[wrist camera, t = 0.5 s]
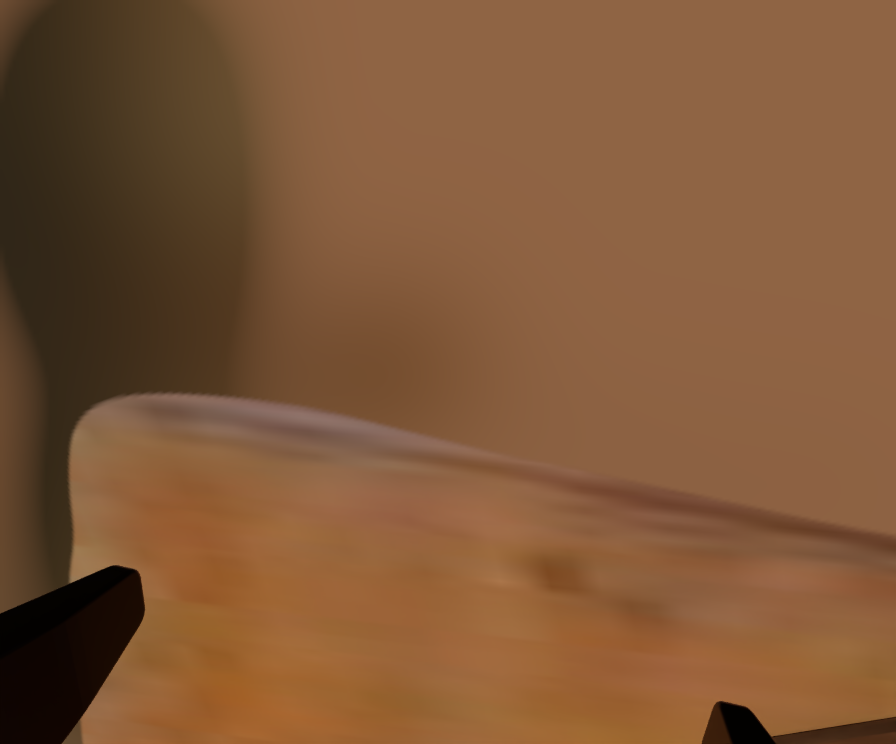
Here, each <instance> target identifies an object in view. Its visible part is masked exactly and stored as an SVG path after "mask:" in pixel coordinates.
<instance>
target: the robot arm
mask: <svg viewBox="0 0 896 744" xmlns="http://www.w3.org/2000/svg"><path fill="white" fill-rule="evenodd" d="M144 613H145V604H144V597H143V590H142V583H141V577H140V574H139V572H138V571H137V570H135V569H132V568H127V567H123V566H118V565H113V566H110V567H107V568H105V569H102V570H100V571H98V572H95V573H93V574H91V575H88V576H86V577H84V578H81V579H79V580H77V581H74V582H72V583H70V584H67V585H65V586H63V587H61V588H58V589H56V590H54V591H51V592H49V593H47V594H45V595H42V596H40V597H37V598H35V599H33V600H30V601H28V602H26V603H24V604H21V605H19V606H17V607H14V608H12V609H10V610H7V611H5V612H3V613H1V614H0V744H62V743H63V741H64V740H65V739H66V737H67V736H68V735H69V733H70V732H71V731H72V729H73V728H74V727H75V725H76V724H77V723H78V721H79V720H80V718H81V717H82V716H83V714H84V713H85V711H86V710H87V708H88V707H89V705H90V704H91V702H92V701H93V699H94V698H95V696H96V695H97V693H98V691H99V690H100V688H101V687H102V685H103V683H104V682H105V680H106V679H107V677H108V675H109V674H110V672H111V671H112V669H113V667H114V666H115V664H116V663H117V661H118V659H119V658H120V656H121V655H122V653H123V651H124V650H125V648H126V647H127V645H128V643H129V642H130V640H131V639H132V637H133V635H134V634H135V632H136V631H137V629H138V627H139V626H140V624H141V622H142V620H143V617H144ZM702 744H776V742H775V741H774V740H773V738H772V737H771V736H770V734H769V733H768V732H767V730H766V729H765V728H764V727H763V725H762V724H761V723H760V721H759V720H758V719H757V717H756V716H755V715H754V713H753V712H752V711H751V710H750V709H748V708H747V707H745V706H741V705H737V704H732V703H728V702H723V701H719V702H717V703H716V704H715V705H714V707H713V709H712V713H711V716H710V719H709V722H708V725H707V728H706V731H705V734H704V737H703V740H702Z"/></svg>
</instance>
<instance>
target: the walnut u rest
mask: <svg viewBox="0 0 896 744" xmlns="http://www.w3.org/2000/svg"><path fill="white" fill-rule="evenodd" d="M772 738H773V740H774V741H775V742H776V744H896V718H890V719H883V720H877V721H871V722H864V723H858V724H852V725H846V726H839V727H833V728H827V729H820V730H814V731H808V732H801V733H795V734H789V735H783V736H776V737H772Z"/></svg>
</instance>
